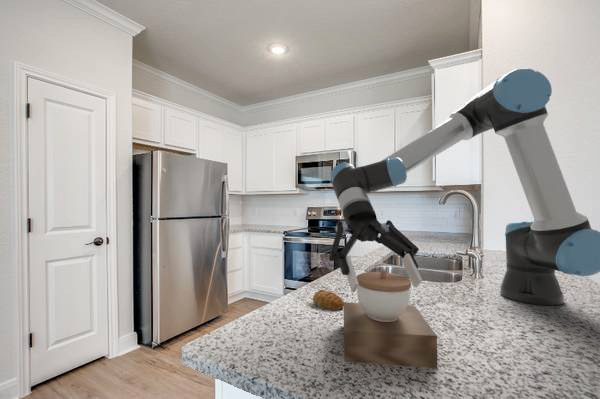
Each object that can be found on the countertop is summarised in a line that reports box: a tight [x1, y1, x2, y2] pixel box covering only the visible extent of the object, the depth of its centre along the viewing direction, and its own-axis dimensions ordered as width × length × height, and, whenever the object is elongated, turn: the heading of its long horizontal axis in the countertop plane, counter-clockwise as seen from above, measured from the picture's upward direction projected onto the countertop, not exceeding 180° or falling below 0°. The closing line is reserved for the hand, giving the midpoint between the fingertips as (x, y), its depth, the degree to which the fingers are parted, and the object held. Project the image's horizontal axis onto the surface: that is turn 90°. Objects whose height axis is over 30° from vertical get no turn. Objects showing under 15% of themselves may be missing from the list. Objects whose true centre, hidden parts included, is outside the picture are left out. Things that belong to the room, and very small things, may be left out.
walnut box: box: [343, 301, 438, 369], centre depth 60 cm, size 16×16×6 cm
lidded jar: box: [356, 269, 412, 322], centre depth 60 cm, size 11×11×9 cm
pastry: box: [312, 289, 344, 311], centre depth 83 cm, size 9×7×4 cm
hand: (387, 286), depth 58 cm, fingers open, 13 cm apart
